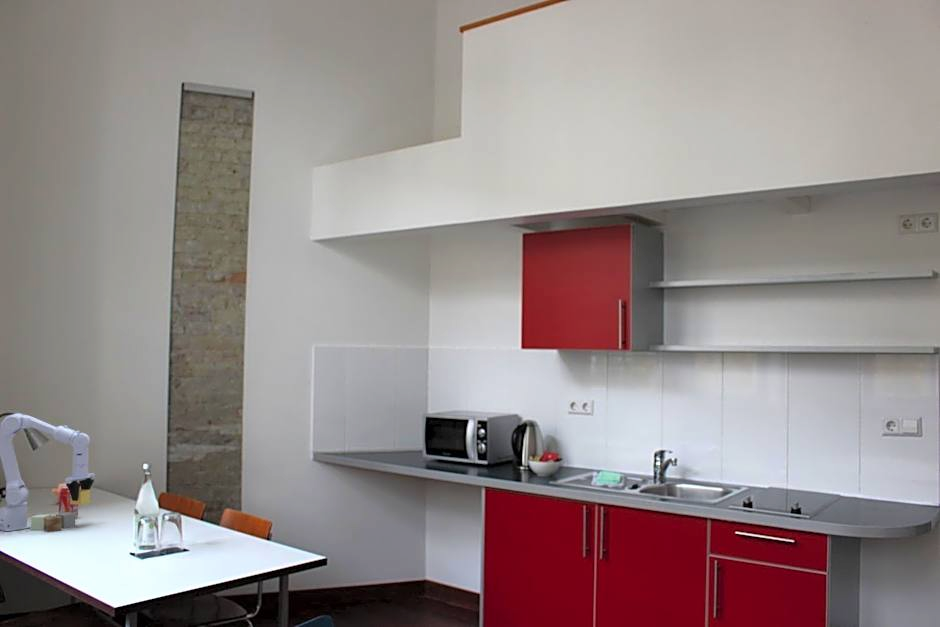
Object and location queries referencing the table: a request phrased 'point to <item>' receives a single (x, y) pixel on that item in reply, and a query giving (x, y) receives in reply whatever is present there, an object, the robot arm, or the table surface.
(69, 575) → the table surface
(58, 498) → the teapot
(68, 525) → the slate block
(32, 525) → the pale green block
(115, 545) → the table surface
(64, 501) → the soda can
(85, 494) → the ochre block
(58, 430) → the robot arm
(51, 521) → the walnut block
